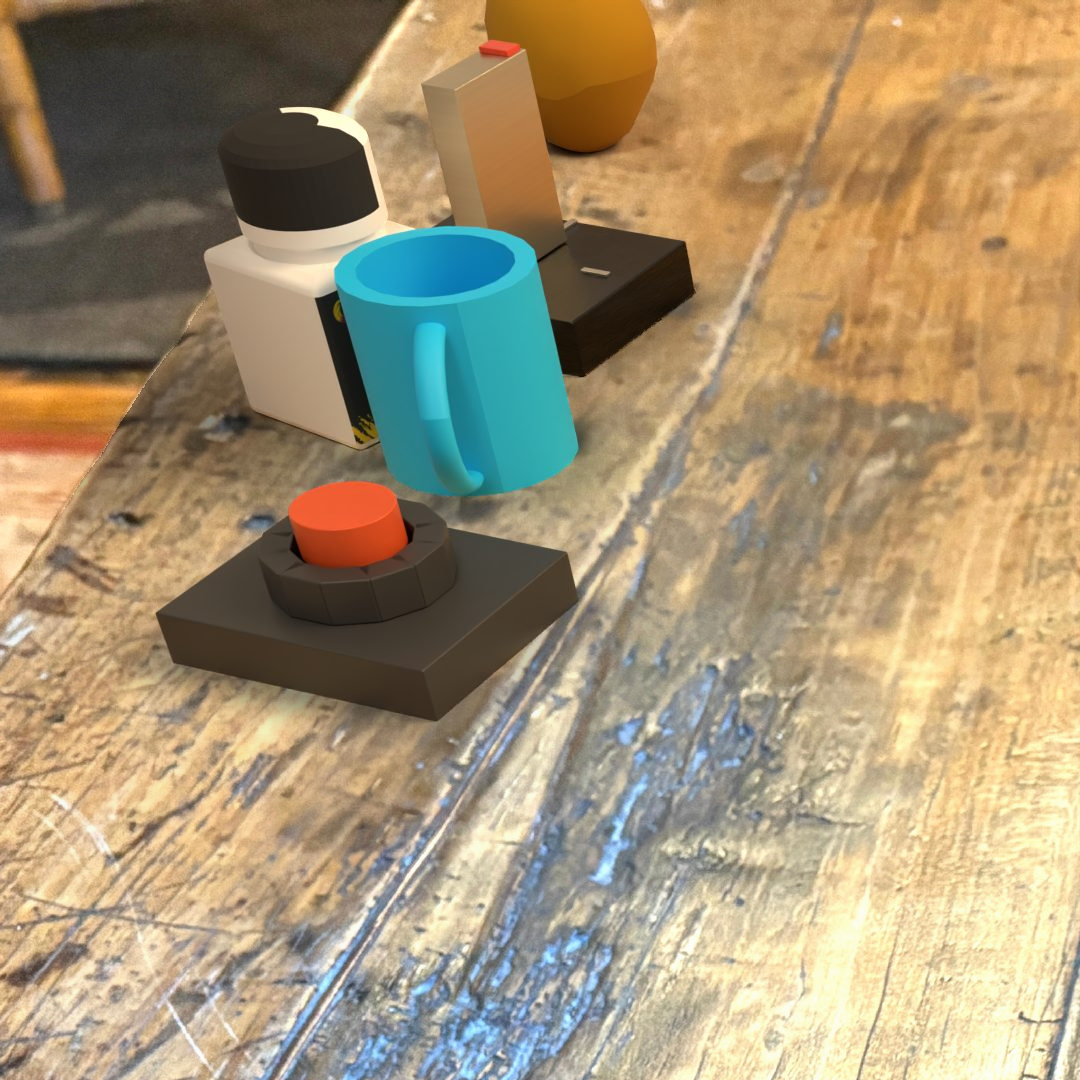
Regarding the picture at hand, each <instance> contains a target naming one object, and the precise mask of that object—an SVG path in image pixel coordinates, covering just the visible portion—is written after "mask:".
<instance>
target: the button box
mask: <svg viewBox="0 0 1080 1080" xmlns="http://www.w3.org/2000/svg"><path fill="white" fill-rule="evenodd" d="M396 498H397V497H396ZM397 502H398V505H399V509H400V512H401V516H402V519H403V523H404V526H405V530H406V534H407V537H408V545H407V546H406V547H404V548H403V549H402V550H401V551H399V552H398V553H397V554H395V555H394V556H393V557H390V558H387V559H384V560H381V561H378V562H375V563H371V564H368V565H365V566H356V567H342V568H326V567H322V566H317V565H312V564H308V563H306V562H305V561H304V560H303V558H302V556H301V553H300V550H299V547H298V544H297V541H296V538H295V534H294V531H293V528H292V525H291V522H290V518H289V515H286V516H284V517H283V518H282V519H280V520H278V522H276V523H274V525H272V526H271V527H269V528H268V529H266V530H265V531H263V533H262V534H261V536H260V537H259V538H258V539H256V540H255V541H253V542H252V543H251V544H249V545H248V546H245V548H244V549H242V550H240V552H238V553H237V554H235V555H234V556H233V557H231V558H230V559H228V560H227V561H225V562H224V563H223V564H221V565H220V566H219V567H217V568H216V569H214V570H213V571H211V572H210V573H209V574H207V575H206V576H204V577H203V578H201V580H199V581H197V582H196V583H195V584H193V585H192V586H190V587H189V588H188V589H186V590H185V591H184V592H182V593H180V594H179V595H177V597H175V598H174V599H172V600H171V601H170V602H168V603H167V604H166V605H164V606H162V607H161V608H160V609H158V610H157V611H156V612H155V617H156V619H157V623H158V626H159V627H160V630H161V633H162V636H163V639H164V641H165V644H166V647H167V649H168V652H169V656H170V659H171V661H172V663H173V664H175V665H176V664H177V665H179V666H180V665H181V666H184V667H190V668H194V669H199V670H203V671H206V672H212V673H216V674H221V675H225V676H230V677H234V678H238V679H243V680H247V681H252V682H256V683H261V684H265V685H270V686H275V687H278V688H279V687H280V688H283V689H289V690H292V691H297V692H301V693H306V694H310V695H314V696H315V695H316V696H319V697H324V698H328V699H333V700H336V701H337V700H338V701H341V702H347V703H350V704H351V703H352V704H355V705H360V706H364V707H368V708H373V709H378V710H383V711H386V712H391V713H396V714H400V715H404V716H405V715H406V716H410V717H414V718H418V719H423V720H426V721H432V722H439V721H440V720H441V719H442V718H443V717H445V716H446V715H447V714H448V713H449V712H451V710H453V709H454V708H455V707H457V705H458V704H460V703H461V702H462V701H463V700H465V699H466V698H467V697H468V696H469V695H471V694H472V692H474V691H475V690H476V689H478V688H479V687H480V686H481V685H482V684H483V683H485V681H487V680H488V679H489V678H491V677H492V676H493V675H494V674H495V673H496V672H498V671H499V670H500V669H501V668H502V667H503V666H504V665H506V664H507V663H508V662H509V661H510V660H511V659H513V658H514V657H515V656H516V655H517V654H519V653H520V652H521V651H522V650H523V649H524V648H526V647H527V646H528V645H529V644H531V642H533V641H534V640H535V639H536V638H538V637H539V636H540V635H541V634H542V633H543V632H545V631H546V630H547V629H548V628H549V627H551V626H552V625H553V624H554V623H555V622H556V621H557V620H559V619H560V618H561V617H562V616H563V615H565V613H567V612H568V611H569V610H570V609H572V608H573V607H574V606H575V605H576V604H577V603H579V596H578V591H577V587H576V583H575V578H574V575H573V571H572V566H571V562H570V557H569V553H568V551H565V550H559V549H555V548H551V547H545V546H540V545H536V544H530V543H525V542H521V541H517V540H511V539H506V538H501V537H496V536H491V535H487V534H481V533H478V532H477V533H476V532H472V531H467V530H462V529H457V528H452V527H448V524H447V521H446V520H445V519H444V518H443V517H441V516H440V515H439V514H438V513H436V512H435V511H434V510H433V509H431V508H430V506H428V505H427V504H425V503H423V502H419V501H413V500H407V499H403V498H399V497H398V498H397Z"/></svg>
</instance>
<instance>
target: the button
mask: <svg viewBox="0 0 1080 1080" xmlns="http://www.w3.org/2000/svg"><path fill="white" fill-rule="evenodd" d="M287 514H288V515H289V518H290V522H291V525H292V528H293V531H294V534H295V538H296V541H297V544H298V547H299V550H300V553H301V556H302V558H303V560H304V561H305V562H306V563H308V564H312V565H317V566H322V567H326V568H342V567H356V566H365V565H368V564H371V563H375V562H378V561H381V560H384V559H387V558H390V557H393V556H394V555H395V554H397V553H398V552H399V551H401V550H402V549H403V548H404V547H406V546H407V545H408V537H407V534H406V530H405V526H404V523H403V519H402V516H401V512H400V509H399V505H398V502H397V496H396V494H395V492H393V491H392V490H391V488H388V487H386V486H384V485H383V484H379V483H375V482H370V481H361V480H360V481H357V480H356V481H355V480H350V481H348V480H347V481H338V482H332V483H327V484H324V485H320V486H316V487H314V488H311V489H309V490H307V491H305V492H303V493H302V494H300V495H298V496H297V497H296V498H294V499H293V501H292V502H291V503H290V504H289V506H288V510H287ZM288 515H287V516H288Z"/></svg>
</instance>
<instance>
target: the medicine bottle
mask: <svg viewBox="0 0 1080 1080" xmlns="http://www.w3.org/2000/svg"><path fill="white" fill-rule="evenodd" d="M216 152H217V155H218V158H219V161H220V165H221V169H222V171H223V175H224V178H225V181H226V186H227V189H228V191H229V195H230V198H231V201H232V205H233V208H234V211H235V214H236V218H237V221H238V225H239V229H240V231H241V233H242V235H239V236H237V237H234V238H232V239H230V240H227V241H225V242H223V243H220V244H217V245H215V246H213V247H210V248H208V249H207V250H205V251H204V253H203V260H204V264H205V267H206V269H207V273H208V276H209V280H210V283H211V286H212V290H213V292H214V295H215V298H216V301H217V305H218V308H219V311H220V315H221V317H222V322H223V324H224V328H225V330H226V334H227V337H228V341H229V344H230V347H231V349H232V353H233V356H234V359H235V362H236V366H237V369H238V371H239V375H240V378H241V381H242V385H243V387H244V391H245V394H246V397H247V402H248V404H249V406H250V408H251V409H252V410H253V411H254V412H256V413H257V414H261V415H263V416H267V417H269V418H272V419H275V420H277V421H280V422H283V423H286V424H288V425H291V426H294V427H295V428H296V427H297V428H298V429H300V430H304V431H307V432H309V433H312V434H315V435H318V436H320V437H323V438H326V439H328V440H331V441H335V442H336V443H339V444H343V445H345V446H347V447H350V448H353V449H356V450H359V451H360V450H366V449H368V448H370V447H371V446H373V445H375V444H378V443H380V440H379V436H378V433H377V429H376V426H375V422H374V418H373V415H372V411H371V408H370V404H369V401H368V397H367V394H366V390H365V387H364V383H363V379H362V376H361V372H360V369H359V365H358V362H357V358H356V355H355V351H354V348H353V344H352V341H351V337H350V333H349V330H348V326H347V323H346V319H345V316H344V312H343V309H342V305H341V302H340V298H339V294H338V291H337V287H336V284H335V276H334V268H335V267H336V266H337V264H338V263H339V262H340V260H341V259H342V257H343V256H345V255H346V254H348V253H349V252H351V251H353V250H354V249H356V248H357V247H359V246H360V245H362V244H365V243H368V242H370V241H373V240H376V239H378V238H381V237H384V236H386V235H391V234H395V233H400V232H405V231H409V230H414V229H415V227H411V226H408V225H405V224H402V223H398V222H396V221H392V220H389V219H388V218H389V211H388V207H387V204H386V200H385V197H384V192H383V188H382V185H381V181H380V177H379V173H378V170H377V165H376V161H375V158H374V154H373V151H372V147H371V143H370V138H369V135H368V133H367V130H366V129H365V128H364V127H363V126H362V125H361V124H359V122H357V121H356V120H354V119H353V118H352V117H350V116H348V115H345V114H342V113H338V112H335V111H333V110H329V109H323V108H320V107H319V108H318V107H310V106H309V107H308V106H295V107H294V106H293V107H292V106H290V107H281V108H280V107H279V108H273V109H268V110H265V111H261V112H257V113H254V114H252V115H249V116H247V117H245V118H243V119H241V120H240V121H238V122H236V123H235V124H233V125H231V126H230V127H228V128H227V129H226V130H225V131H224V132H223V133H222V135H221V137H220V139H219V141H218V143H217V146H216Z"/></svg>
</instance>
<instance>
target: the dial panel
mask: <svg viewBox="0 0 1080 1080" xmlns="http://www.w3.org/2000/svg"><path fill="white" fill-rule="evenodd" d="M563 224H564V228H565V233H566V238H567V241H565V242H564V243H562V244H561V245H559V246H558V247H556V248H555V249H553V250H552V251H550V252H549V253H547V254H546V255H544V256H543V257H541V258H540V259H538V260H537V264H538V268H539V273H540V277H541V282H542V286H543V290H544V295H545V299H546V304H547V308H548V313H549V317H550V321H551V326H552V330H553V335H554V339H555V344H556V348H557V352H558V357H559V361H560V366H561V370H562V373H564V374H570V375H575V376H581V377H585V376H586V375H587V374H589V373H590V372H592V371H593V370H594V369H595V368H597V367H598V366H599V365H601V364H602V363H604V362H605V361H606V360H608V359H609V358H610V357H611V356H613V355H614V354H615V353H617V352H618V351H619V350H621V349H622V348H623V347H625V346H626V345H627V344H629V343H631V341H633V340H634V339H636V338H637V337H638V336H640V335H641V334H642V333H644V332H645V331H647V330H648V329H649V328H650V327H652V326H653V325H655V323H657V322H659V320H661V319H662V318H664V317H665V316H666V315H668V314H669V313H670V312H671V311H673V310H674V309H676V308H677V307H678V306H680V305H681V304H683V303H684V302H685V301H687V300H688V299H689V298H690V297H691V296H693V295H695V292H696V290H695V285H694V284H695V283H694V278H693V273H692V268H691V263H690V258H689V252H688V247H687V242H686V241H685V240H682V239H677V238H669V237H663V236H659V235H653V234H647V233H646V234H645V233H641V232H640V233H639V232H636V231H629V230H624V229H617V228H613V227H608V226H607V227H606V226H600V225H595V224H590V223H584V222H579V220H578V219H575V218H570V219H568V220H567V219H563ZM443 226H456V225H455V221H454V217H453V213H452V214H451V215H449V216H447V217H446V218H444V219H443V220H441V221H440V222H438V223H437V224H435V225H433V226H432V227H443Z"/></svg>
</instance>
